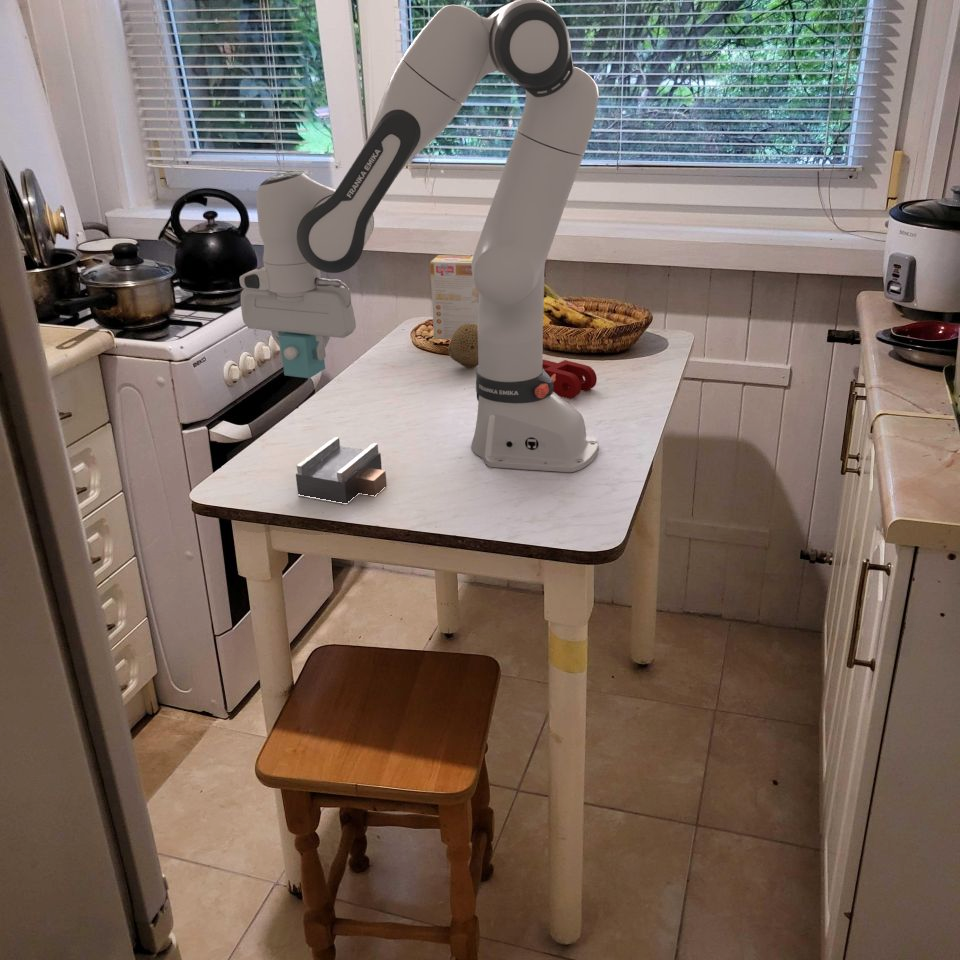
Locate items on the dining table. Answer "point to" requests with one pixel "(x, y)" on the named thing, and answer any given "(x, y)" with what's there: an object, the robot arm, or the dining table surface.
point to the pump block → (299, 355)
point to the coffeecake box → (453, 294)
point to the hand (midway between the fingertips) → (303, 357)
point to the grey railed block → (341, 472)
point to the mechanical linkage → (570, 377)
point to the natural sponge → (465, 345)
